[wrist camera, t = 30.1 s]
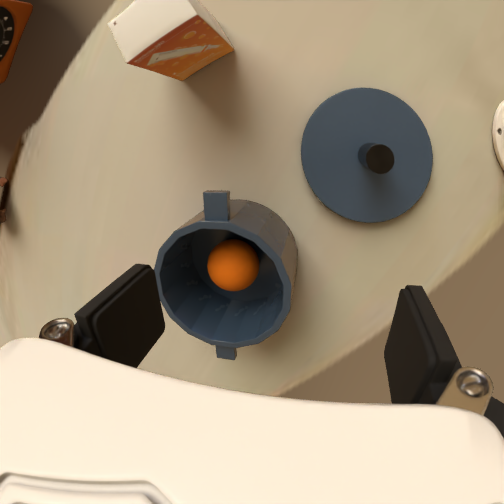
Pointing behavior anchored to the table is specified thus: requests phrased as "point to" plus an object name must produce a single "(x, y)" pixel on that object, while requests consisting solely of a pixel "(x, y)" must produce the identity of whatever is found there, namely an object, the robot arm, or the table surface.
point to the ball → (233, 265)
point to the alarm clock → (11, 31)
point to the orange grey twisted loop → (0, 214)
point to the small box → (169, 36)
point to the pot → (215, 298)
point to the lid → (366, 155)
